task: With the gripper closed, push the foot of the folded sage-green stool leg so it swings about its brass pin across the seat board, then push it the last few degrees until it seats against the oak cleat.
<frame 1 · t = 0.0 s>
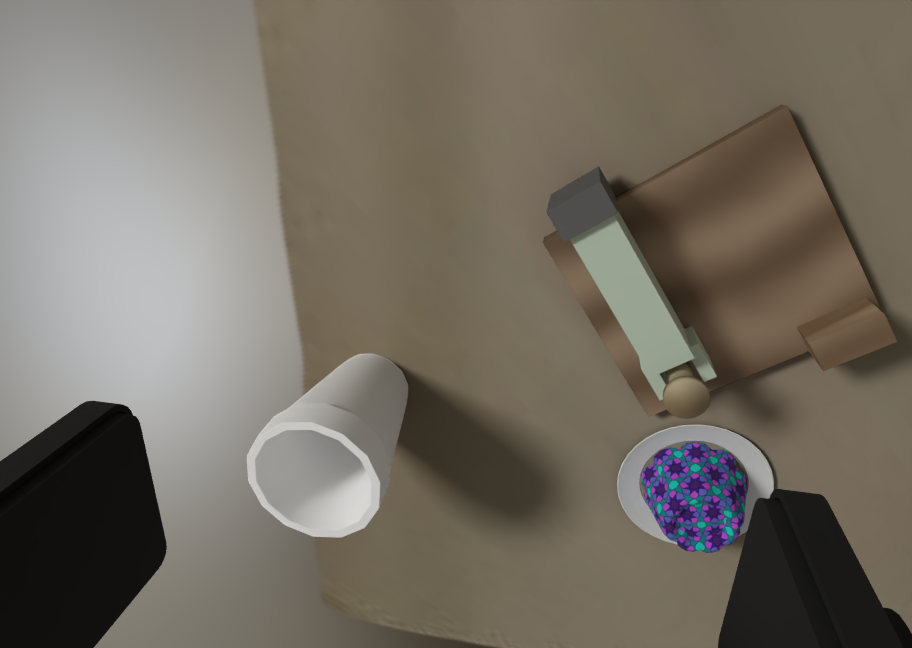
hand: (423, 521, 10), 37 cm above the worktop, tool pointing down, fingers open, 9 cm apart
leg: (632, 291, 42), point 4 cm above the worktop, hinge at 0.0°
stool seat: (672, 346, 47), on the worktop
foam cup: (373, 385, 54), on the worktop
pudding: (691, 480, 52), on the worktop
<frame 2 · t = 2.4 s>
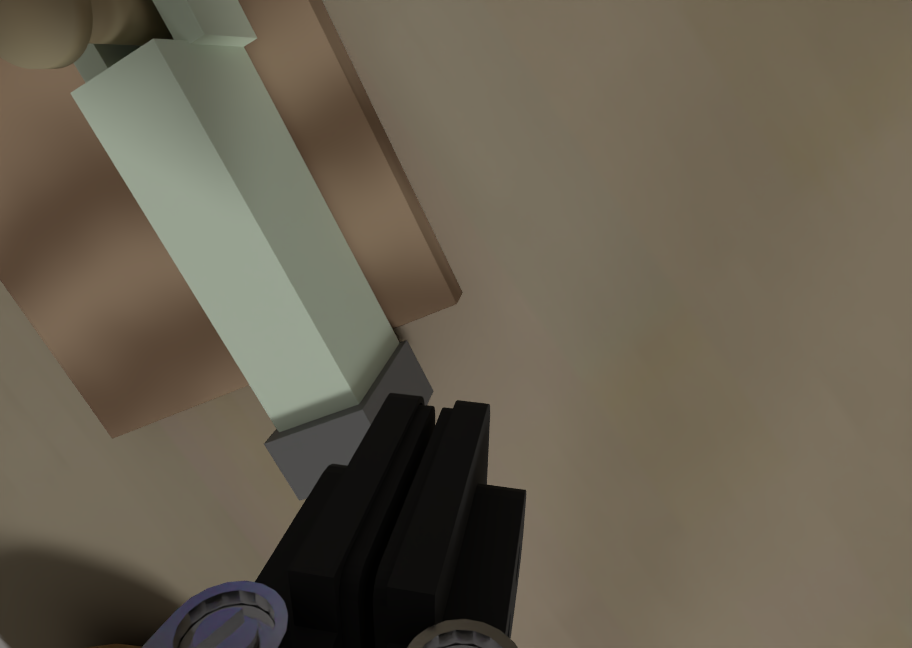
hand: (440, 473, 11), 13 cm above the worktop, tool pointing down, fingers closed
leg: (252, 232, 19), point 4 cm above the worktop, hinge at 0.0°
stool seat: (206, 22, 21), on the worktop
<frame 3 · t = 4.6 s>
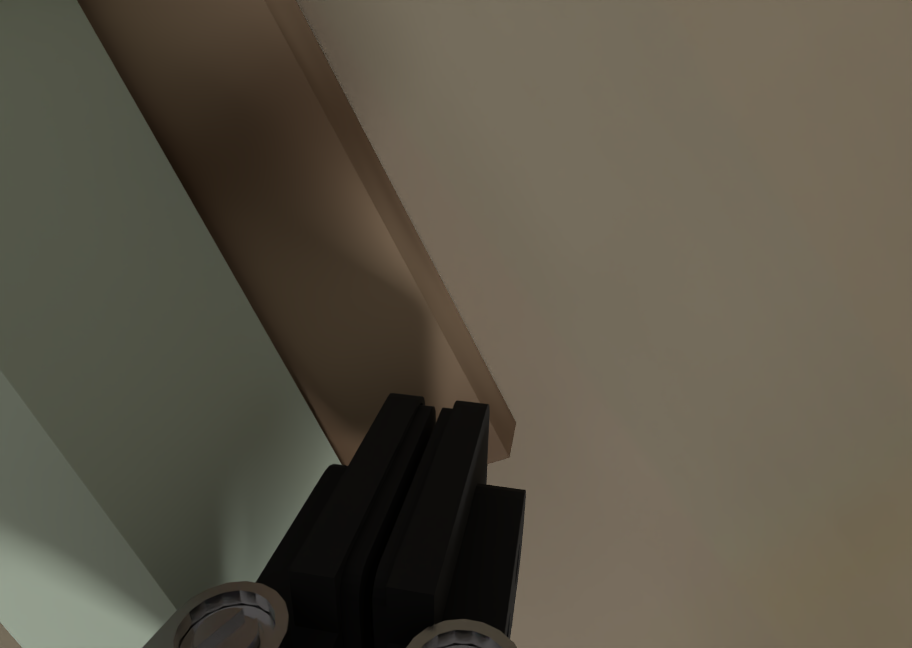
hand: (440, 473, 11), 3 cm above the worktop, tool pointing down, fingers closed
leg: (72, 370, 9), point 4 cm above the worktop, hinge at 3.1°, touching gripper
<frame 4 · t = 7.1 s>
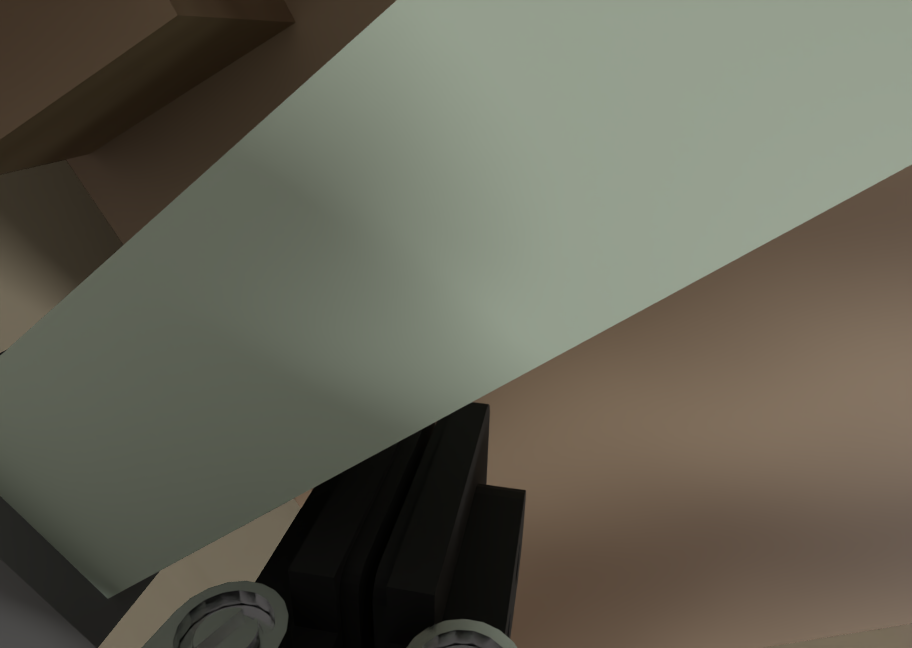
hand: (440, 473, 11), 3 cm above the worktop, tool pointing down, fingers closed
leg: (422, 216, 7), point 4 cm above the worktop, hinge at 80.4°
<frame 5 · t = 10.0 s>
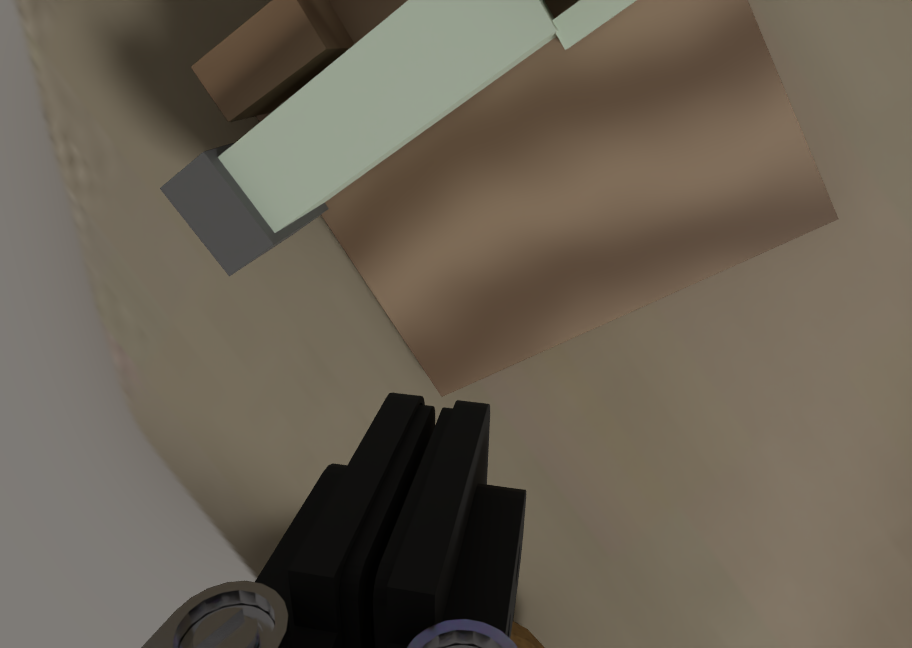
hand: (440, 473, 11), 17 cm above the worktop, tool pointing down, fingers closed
leg: (396, 89, 21), point 4 cm above the worktop, hinge at 87.2°
potato: (458, 626, 36), on the worktop
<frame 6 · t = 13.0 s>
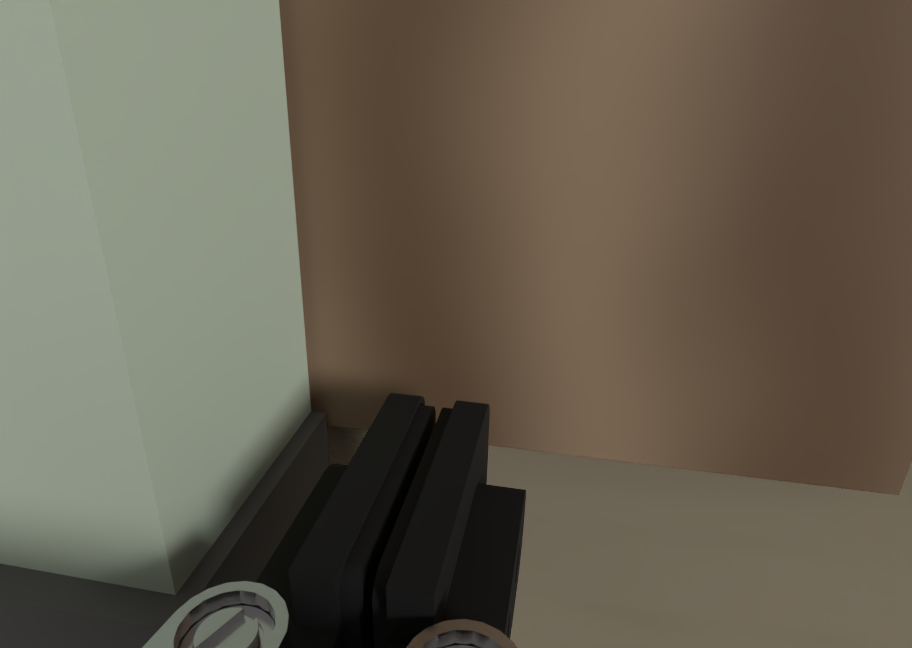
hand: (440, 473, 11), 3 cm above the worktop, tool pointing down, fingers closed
leg: (85, 104, 8), point 4 cm above the worktop, hinge at 90.5°, touching gripper, stool seat
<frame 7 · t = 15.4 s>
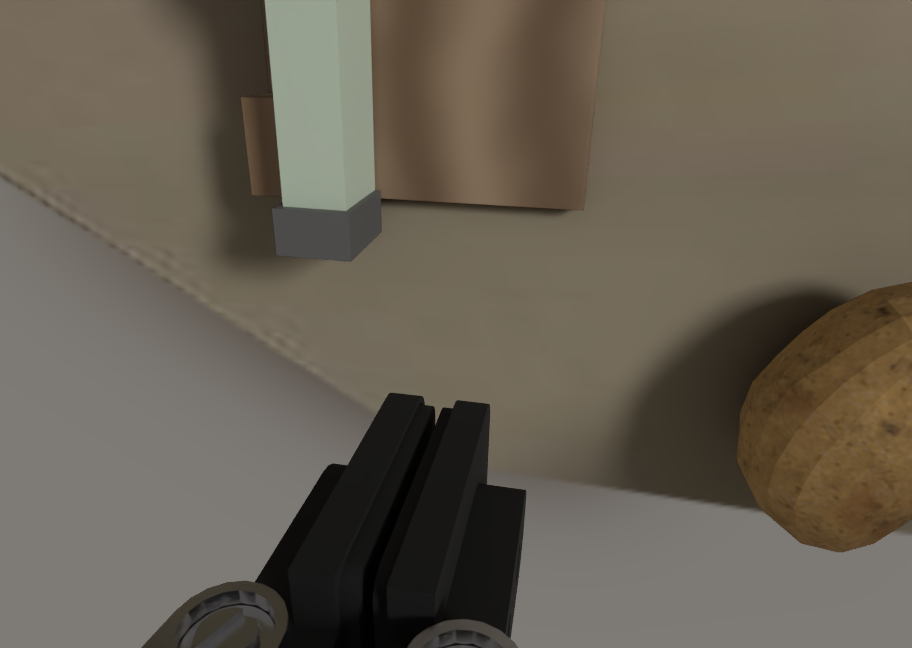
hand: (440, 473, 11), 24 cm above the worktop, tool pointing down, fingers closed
leg: (322, 69, 28), point 4 cm above the worktop, hinge at 90.5°
potato: (834, 367, 34), on the worktop
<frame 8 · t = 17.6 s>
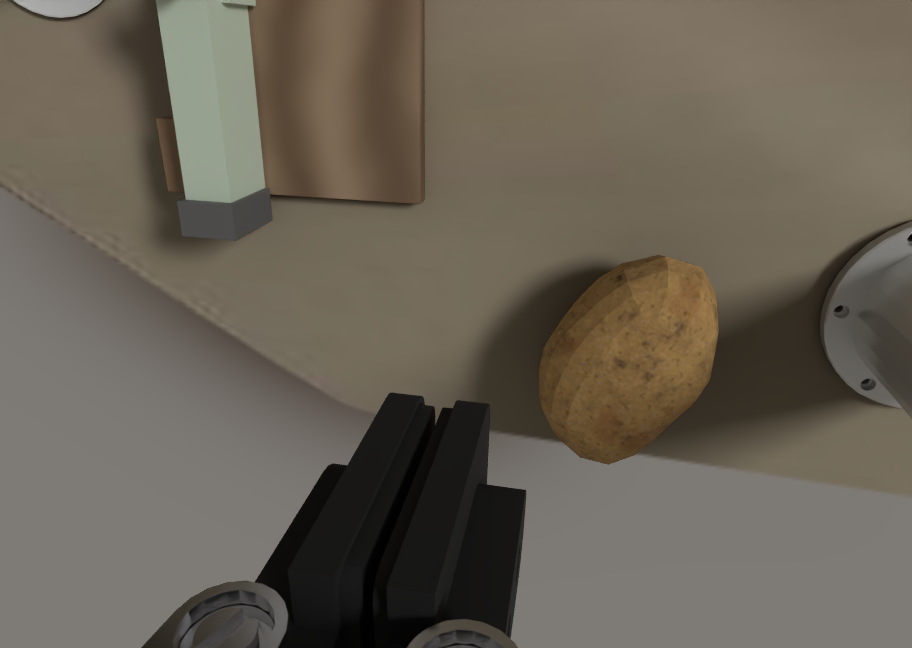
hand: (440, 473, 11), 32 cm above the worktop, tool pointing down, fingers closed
leg: (213, 98, 38), point 4 cm above the worktop, hinge at 90.5°
potato: (624, 327, 43), on the worktop
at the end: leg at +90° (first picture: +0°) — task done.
